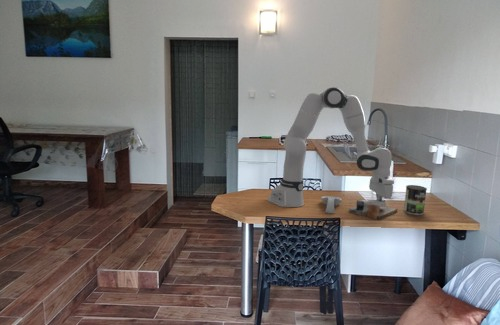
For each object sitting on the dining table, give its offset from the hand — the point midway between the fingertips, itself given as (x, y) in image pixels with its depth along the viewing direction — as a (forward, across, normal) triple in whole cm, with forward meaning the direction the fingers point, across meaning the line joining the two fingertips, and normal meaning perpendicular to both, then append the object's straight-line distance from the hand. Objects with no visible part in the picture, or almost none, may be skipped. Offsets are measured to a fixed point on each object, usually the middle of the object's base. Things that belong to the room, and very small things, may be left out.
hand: (378, 201), depth 207 cm
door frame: (+5, +3, -4) cm, 7 cm away
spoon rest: (+5, -6, -25) cm, 26 cm away
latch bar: (+2, +3, -6) cm, 7 cm away
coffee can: (+5, +4, +18) cm, 20 cm away
